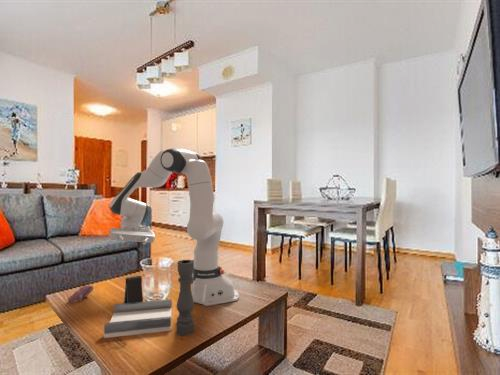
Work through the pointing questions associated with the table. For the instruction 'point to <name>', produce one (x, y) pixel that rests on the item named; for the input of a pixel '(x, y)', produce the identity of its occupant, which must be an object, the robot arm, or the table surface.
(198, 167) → the robot arm
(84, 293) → the video game controller
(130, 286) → the phone stand
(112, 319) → the track base
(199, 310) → the table surface
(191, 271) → the candle holder
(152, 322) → the track rails
